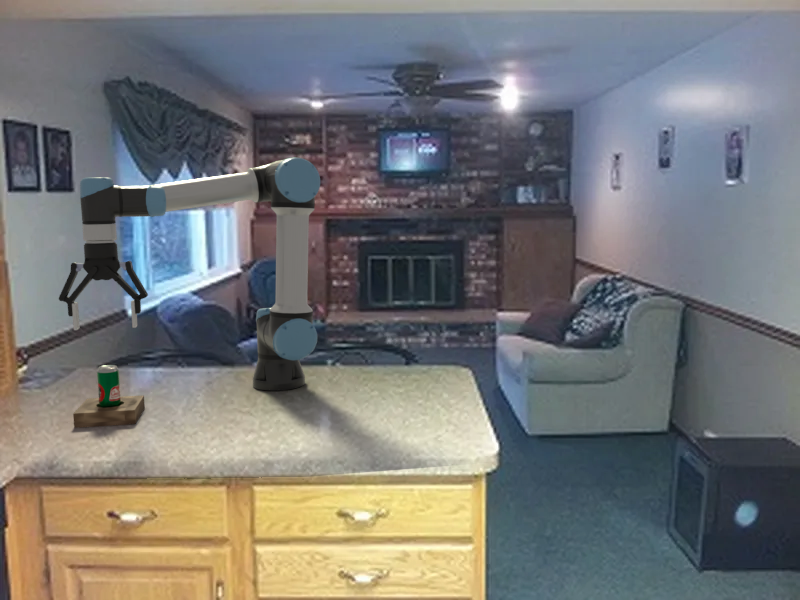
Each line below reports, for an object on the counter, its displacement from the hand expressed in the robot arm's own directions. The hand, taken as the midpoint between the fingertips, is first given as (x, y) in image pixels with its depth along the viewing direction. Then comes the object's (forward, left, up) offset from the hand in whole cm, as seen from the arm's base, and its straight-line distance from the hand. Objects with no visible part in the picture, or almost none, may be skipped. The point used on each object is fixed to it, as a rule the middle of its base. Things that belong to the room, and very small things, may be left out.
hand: (106, 328), depth 181 cm
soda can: (0, 0, -22) cm, 22 cm away
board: (0, 0, -23) cm, 23 cm away
